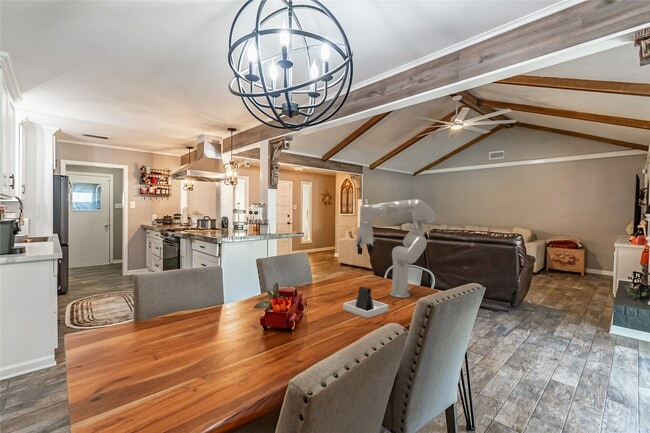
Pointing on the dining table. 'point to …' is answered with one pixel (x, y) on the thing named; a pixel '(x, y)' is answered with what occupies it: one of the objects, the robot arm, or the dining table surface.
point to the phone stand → (364, 299)
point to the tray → (377, 310)
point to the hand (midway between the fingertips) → (365, 253)
